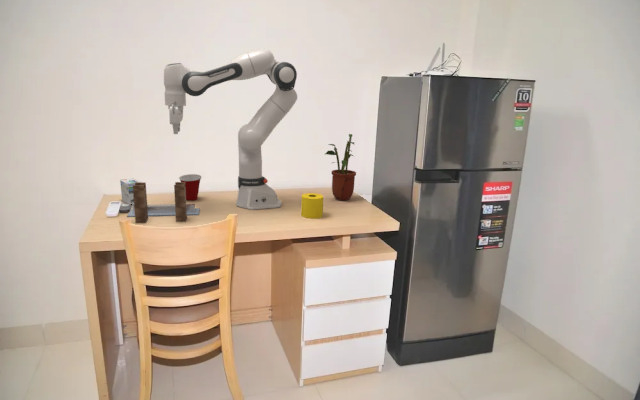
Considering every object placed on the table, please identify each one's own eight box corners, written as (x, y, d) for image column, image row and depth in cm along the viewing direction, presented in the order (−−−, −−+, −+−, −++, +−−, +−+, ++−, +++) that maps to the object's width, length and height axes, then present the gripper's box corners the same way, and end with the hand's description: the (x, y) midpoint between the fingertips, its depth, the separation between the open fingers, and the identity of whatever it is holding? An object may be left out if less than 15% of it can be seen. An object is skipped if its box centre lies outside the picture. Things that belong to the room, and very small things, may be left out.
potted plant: (353, 196, 232) (358, 133, 222) (355, 204, 217) (360, 136, 207) (322, 194, 232) (325, 131, 222) (321, 202, 217) (325, 134, 207)
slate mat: (199, 209, 196) (199, 208, 196) (198, 215, 188) (198, 213, 188) (131, 210, 189) (131, 209, 189) (126, 217, 181) (126, 215, 181)
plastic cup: (175, 200, 208) (174, 177, 205) (188, 195, 218) (187, 173, 215) (193, 203, 205) (193, 179, 202) (206, 198, 215) (205, 175, 212)
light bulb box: (144, 203, 201) (142, 181, 198) (129, 206, 197) (127, 183, 194) (135, 198, 209) (133, 177, 206) (121, 200, 204) (119, 179, 201)
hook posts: (186, 217, 184) (185, 182, 180) (185, 221, 179) (184, 185, 174) (138, 218, 180) (135, 182, 176) (135, 223, 174) (132, 185, 170)
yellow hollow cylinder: (299, 217, 191) (299, 197, 189) (303, 211, 201) (303, 192, 198) (320, 219, 190) (321, 199, 187) (323, 213, 199) (324, 194, 197)
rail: (194, 210, 193) (194, 203, 192) (194, 212, 190) (194, 205, 189) (134, 211, 187) (133, 205, 186) (133, 213, 184) (132, 207, 183)
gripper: (180, 103, 176) (182, 135, 180) (184, 100, 195) (185, 130, 199) (165, 102, 175) (166, 135, 179) (170, 100, 194) (172, 130, 198)
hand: (176, 132), depth 189 cm, fingers open, 8 cm apart
